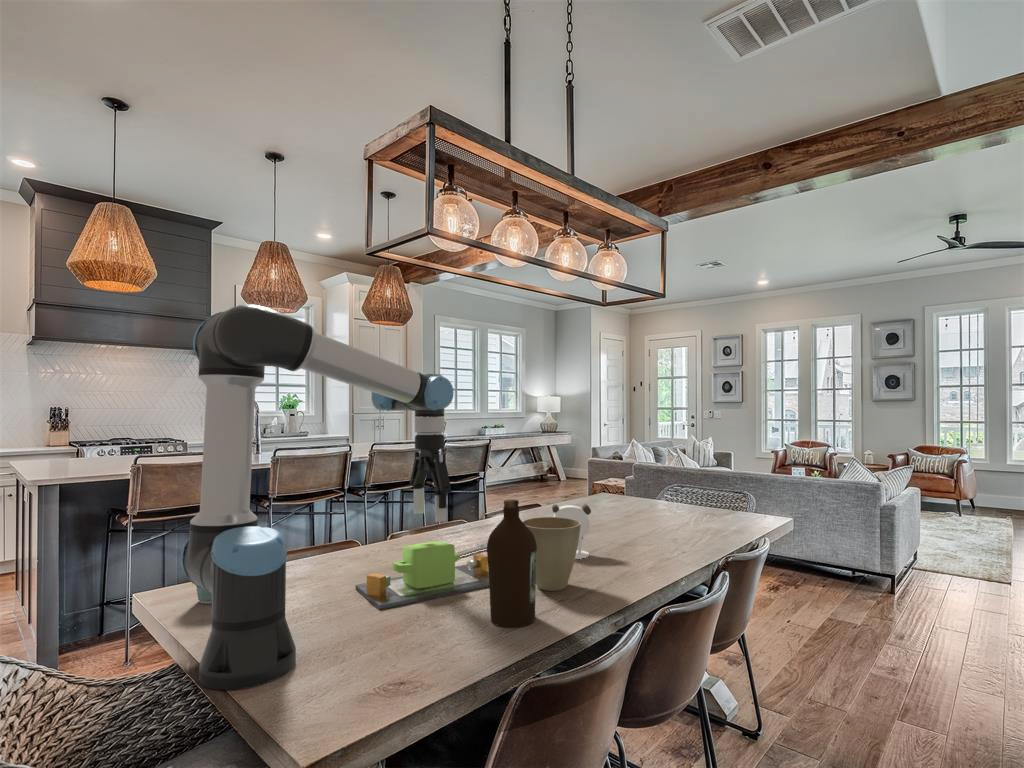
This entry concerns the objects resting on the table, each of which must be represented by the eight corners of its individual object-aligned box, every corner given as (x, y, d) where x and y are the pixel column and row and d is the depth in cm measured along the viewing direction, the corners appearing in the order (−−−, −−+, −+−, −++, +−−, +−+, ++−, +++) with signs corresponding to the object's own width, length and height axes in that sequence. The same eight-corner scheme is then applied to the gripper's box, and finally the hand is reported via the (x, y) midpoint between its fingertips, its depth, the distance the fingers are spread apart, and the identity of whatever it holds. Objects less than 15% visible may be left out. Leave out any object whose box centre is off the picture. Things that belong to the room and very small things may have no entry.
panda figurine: (589, 550, 174) (588, 502, 175) (593, 559, 163) (592, 508, 163) (551, 550, 174) (550, 502, 175) (552, 560, 163) (551, 508, 164)
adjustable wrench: (441, 565, 161) (441, 559, 161) (428, 561, 165) (428, 555, 166) (502, 548, 179) (502, 543, 179) (489, 545, 183) (489, 540, 183)
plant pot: (546, 600, 128) (545, 531, 129) (511, 584, 140) (510, 521, 141) (594, 588, 136) (593, 523, 137) (557, 574, 149) (556, 514, 149)
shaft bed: (504, 583, 141) (504, 561, 142) (379, 609, 124) (379, 585, 124) (471, 567, 157) (471, 547, 157) (355, 588, 139) (355, 566, 139)
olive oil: (486, 629, 112) (484, 504, 113) (489, 610, 122) (487, 496, 123) (538, 629, 111) (536, 504, 113) (537, 610, 122) (535, 496, 123)
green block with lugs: (451, 572, 149) (451, 536, 150) (470, 579, 141) (469, 541, 142) (388, 583, 139) (388, 545, 140) (405, 592, 131) (405, 551, 132)
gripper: (465, 434, 134) (465, 523, 132) (423, 432, 155) (423, 509, 153) (436, 435, 130) (436, 526, 128) (398, 433, 150) (397, 511, 149)
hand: (429, 517), depth 141 cm, fingers open, 13 cm apart
